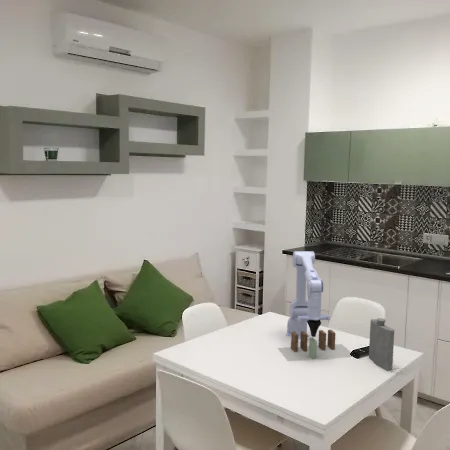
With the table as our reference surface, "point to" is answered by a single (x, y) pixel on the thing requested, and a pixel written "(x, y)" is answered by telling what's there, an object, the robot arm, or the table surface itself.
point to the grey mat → (325, 354)
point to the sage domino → (312, 348)
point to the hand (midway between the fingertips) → (313, 336)
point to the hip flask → (381, 344)
